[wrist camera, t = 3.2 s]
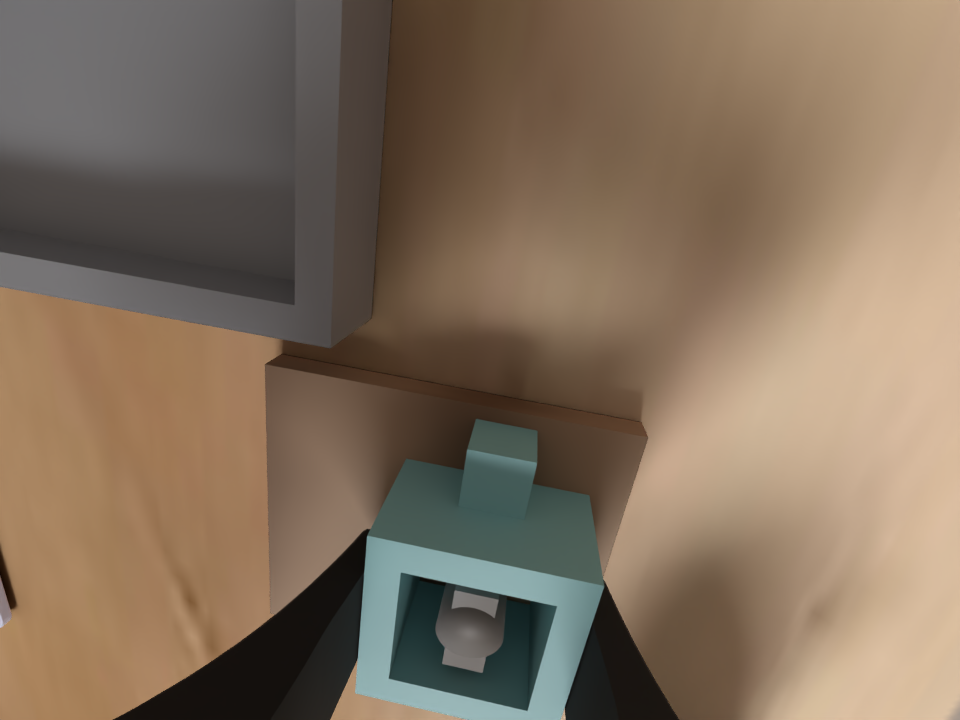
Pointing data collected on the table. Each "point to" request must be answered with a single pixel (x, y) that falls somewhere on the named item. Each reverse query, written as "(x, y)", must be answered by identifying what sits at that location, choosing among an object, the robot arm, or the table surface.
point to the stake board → (422, 437)
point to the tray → (196, 158)
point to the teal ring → (479, 582)
